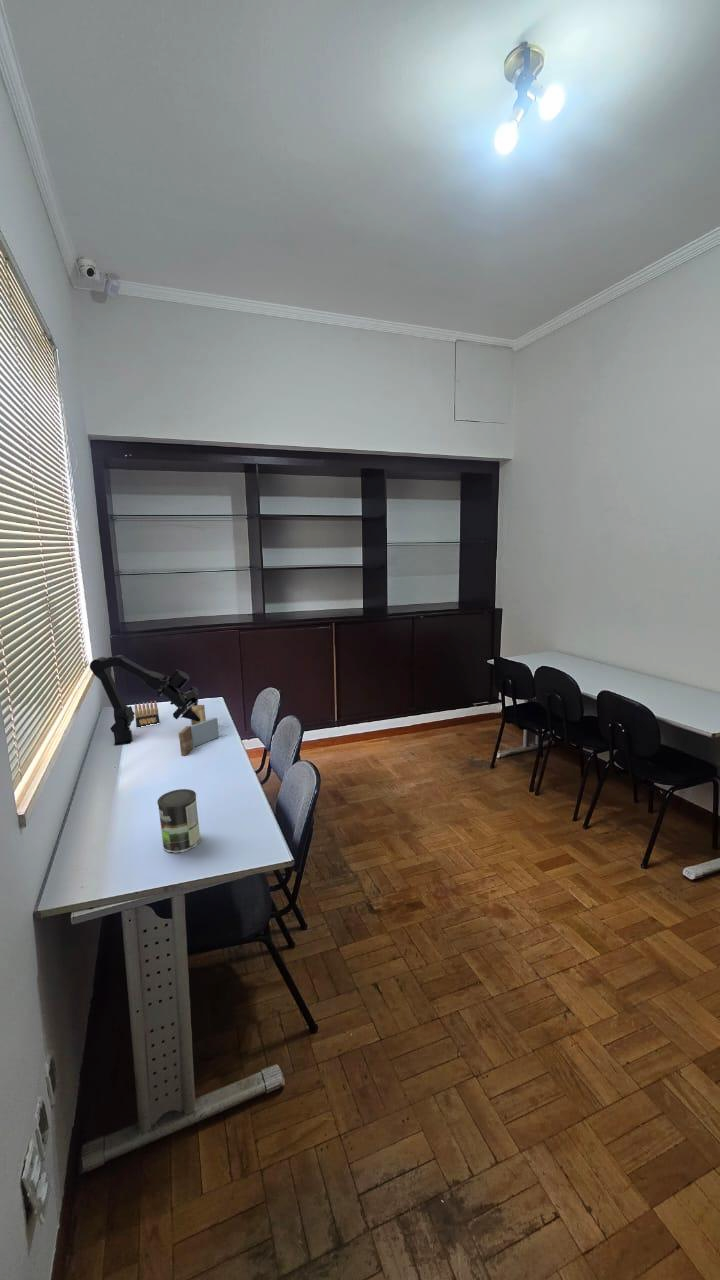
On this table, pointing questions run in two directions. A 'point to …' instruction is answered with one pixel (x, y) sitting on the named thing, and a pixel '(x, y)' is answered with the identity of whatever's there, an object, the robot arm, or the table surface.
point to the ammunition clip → (146, 714)
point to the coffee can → (179, 820)
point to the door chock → (198, 713)
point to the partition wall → (186, 740)
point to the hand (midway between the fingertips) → (201, 719)
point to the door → (204, 731)
